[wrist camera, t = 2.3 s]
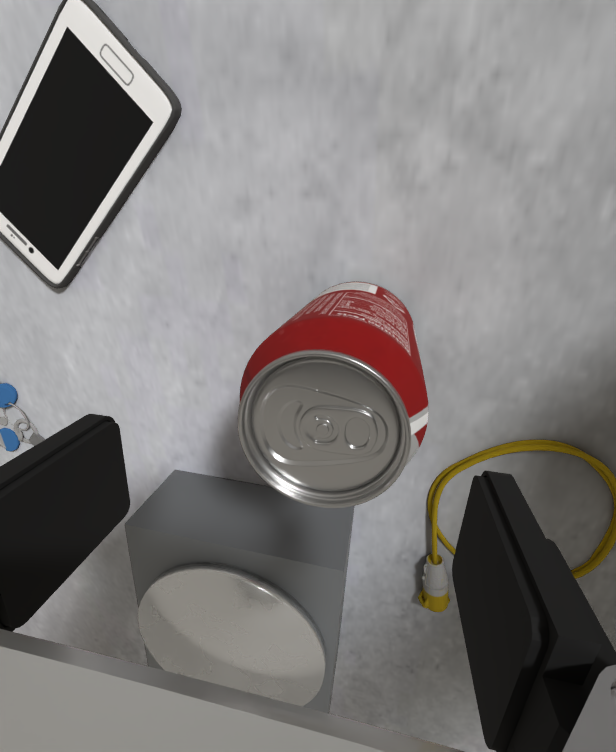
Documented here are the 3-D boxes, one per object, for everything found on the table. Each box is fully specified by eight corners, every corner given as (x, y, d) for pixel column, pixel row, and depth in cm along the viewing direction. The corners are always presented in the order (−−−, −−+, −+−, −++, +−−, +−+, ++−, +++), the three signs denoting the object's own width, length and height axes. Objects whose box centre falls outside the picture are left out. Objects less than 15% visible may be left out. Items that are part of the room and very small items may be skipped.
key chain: (99, 466, 32) (92, 472, 31) (51, 506, 35) (43, 513, 34) (-29, 335, 30) (-40, 338, 29) (-68, 391, 33) (-78, 395, 32)
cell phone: (191, 109, 21) (182, 104, 20) (67, 292, 26) (55, 294, 26) (85, -11, 20) (70, -23, 19) (-20, 205, 25) (-35, 204, 25)
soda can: (301, 278, 22) (210, 324, 11) (421, 281, 21) (448, 337, 10) (301, 384, 25) (226, 508, 14) (408, 394, 23) (420, 538, 12)
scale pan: (333, 588, 22) (331, 600, 21) (320, 721, 27) (318, 734, 26) (134, 544, 24) (126, 553, 24) (154, 673, 29) (148, 684, 29)
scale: (354, 502, 27) (343, 577, 21) (337, 656, 33) (324, 748, 27) (175, 469, 30) (120, 528, 24) (189, 618, 36) (148, 695, 30)
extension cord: (353, 531, 29) (350, 552, 27) (535, 397, 22) (547, 412, 20) (468, 630, 30) (473, 656, 28) (674, 528, 23) (697, 553, 21)
